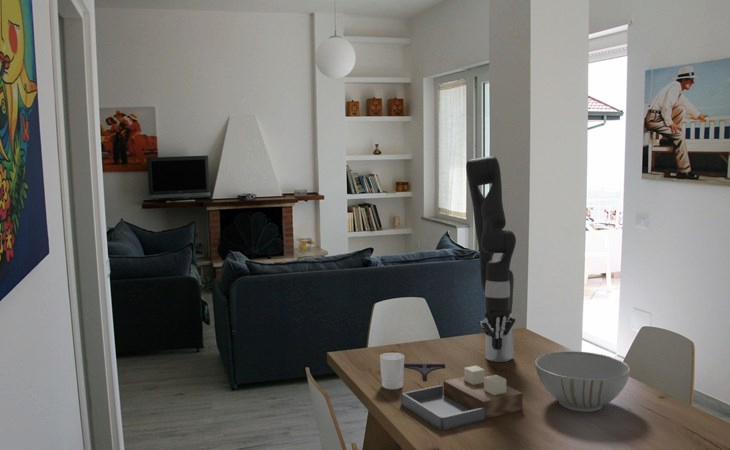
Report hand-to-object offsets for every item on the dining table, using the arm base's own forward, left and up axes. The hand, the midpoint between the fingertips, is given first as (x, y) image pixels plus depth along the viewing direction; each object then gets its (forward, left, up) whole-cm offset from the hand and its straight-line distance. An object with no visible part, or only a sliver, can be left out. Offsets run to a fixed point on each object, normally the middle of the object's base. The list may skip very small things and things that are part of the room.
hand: (496, 349), depth 203 cm
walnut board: (+10, +5, -14) cm, 18 cm away
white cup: (+26, -21, -14) cm, 36 cm away
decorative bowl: (-15, +20, -14) cm, 29 cm away
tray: (+24, +5, -14) cm, 28 cm away
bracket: (+10, -27, -15) cm, 32 cm away
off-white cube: (+9, +10, -9) cm, 16 cm away
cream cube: (+9, 0, -9) cm, 12 cm away
